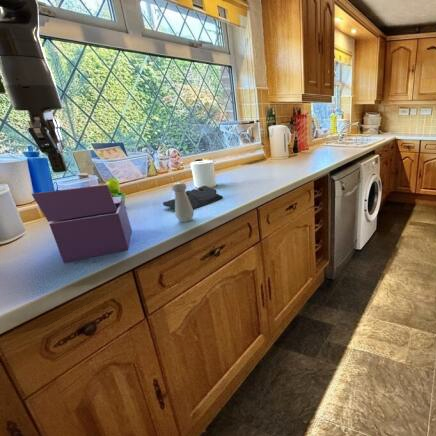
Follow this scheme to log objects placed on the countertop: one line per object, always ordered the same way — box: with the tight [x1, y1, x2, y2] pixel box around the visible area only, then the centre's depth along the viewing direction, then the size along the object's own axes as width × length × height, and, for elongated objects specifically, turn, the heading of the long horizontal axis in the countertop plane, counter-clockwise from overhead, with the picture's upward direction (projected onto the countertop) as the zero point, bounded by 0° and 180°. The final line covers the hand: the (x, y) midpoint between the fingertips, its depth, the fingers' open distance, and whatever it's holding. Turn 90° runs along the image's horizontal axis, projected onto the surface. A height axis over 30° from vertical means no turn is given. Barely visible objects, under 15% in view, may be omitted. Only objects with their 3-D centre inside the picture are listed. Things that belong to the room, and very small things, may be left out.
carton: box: [48, 196, 132, 264], centre depth 84 cm, size 17×14×11 cm
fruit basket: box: [104, 177, 126, 205], centre depth 120 cm, size 11×9×11 cm
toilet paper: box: [190, 160, 218, 189], centre depth 150 cm, size 10×10×12 cm
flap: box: [31, 184, 117, 223], centre depth 72 cm, size 8×14×1 cm
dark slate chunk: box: [162, 186, 224, 210], centre depth 123 cm, size 15×22×5 cm
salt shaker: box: [171, 182, 195, 223], centre depth 101 cm, size 6×6×13 cm
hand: (60, 171), depth 65 cm, fingers closed
